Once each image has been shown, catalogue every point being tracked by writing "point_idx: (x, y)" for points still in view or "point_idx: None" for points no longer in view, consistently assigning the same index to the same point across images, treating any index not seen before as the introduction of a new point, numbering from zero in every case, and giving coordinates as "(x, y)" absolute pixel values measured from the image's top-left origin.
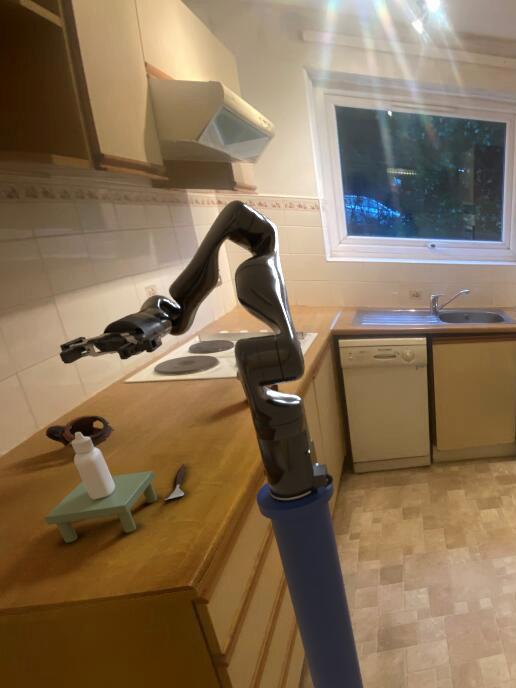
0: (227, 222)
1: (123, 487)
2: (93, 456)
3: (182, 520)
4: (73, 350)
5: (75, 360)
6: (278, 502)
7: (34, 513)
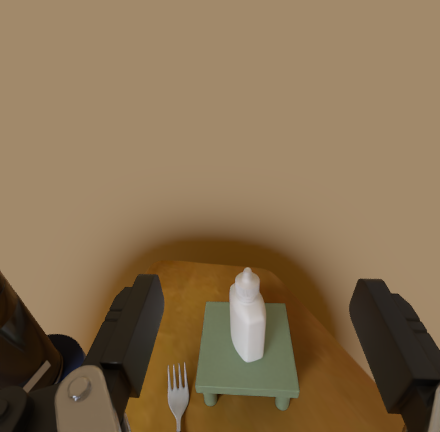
0: None
1: (222, 342)
2: (232, 287)
3: (165, 334)
4: (386, 339)
5: (364, 352)
6: (62, 352)
7: (381, 425)
